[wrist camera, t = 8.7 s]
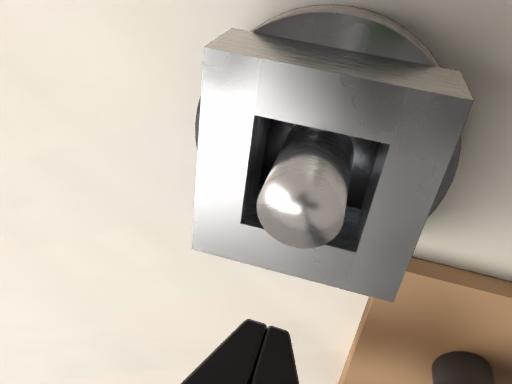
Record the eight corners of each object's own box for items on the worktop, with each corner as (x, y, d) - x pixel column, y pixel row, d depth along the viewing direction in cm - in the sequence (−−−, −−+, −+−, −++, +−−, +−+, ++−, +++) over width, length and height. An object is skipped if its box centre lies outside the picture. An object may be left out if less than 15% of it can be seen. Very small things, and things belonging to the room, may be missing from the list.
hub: (409, 256, 19) (416, 365, 14) (202, 205, 20) (146, 289, 16) (498, 32, 14) (551, 86, 9) (218, -17, 15) (144, 10, 11)
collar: (393, 254, 17) (393, 302, 15) (215, 209, 18) (191, 249, 16) (460, 71, 13) (473, 100, 11) (231, 27, 14) (204, 46, 12)
